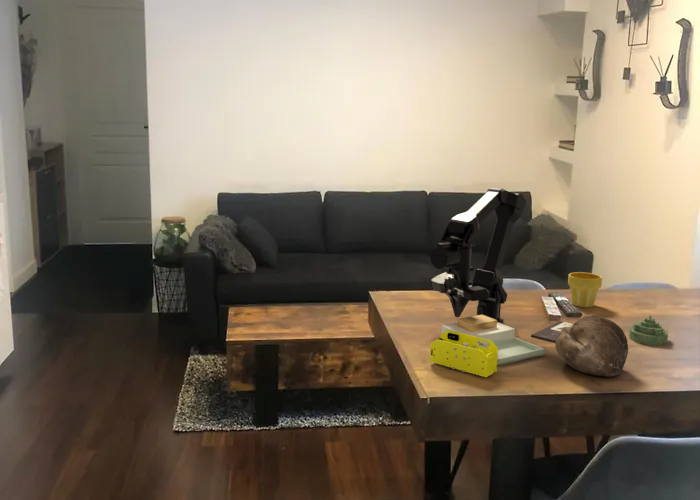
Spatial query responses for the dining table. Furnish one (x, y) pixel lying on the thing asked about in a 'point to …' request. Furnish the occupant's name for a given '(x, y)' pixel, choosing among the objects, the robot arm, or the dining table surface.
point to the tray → (516, 350)
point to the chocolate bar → (551, 332)
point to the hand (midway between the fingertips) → (457, 316)
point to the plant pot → (584, 288)
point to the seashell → (593, 346)
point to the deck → (484, 331)
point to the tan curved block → (476, 323)
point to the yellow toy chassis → (465, 353)
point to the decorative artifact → (648, 332)
